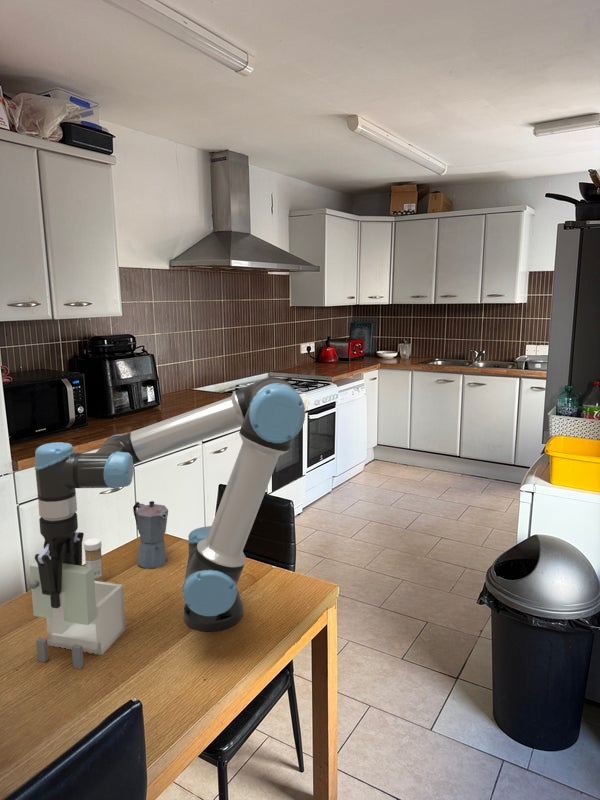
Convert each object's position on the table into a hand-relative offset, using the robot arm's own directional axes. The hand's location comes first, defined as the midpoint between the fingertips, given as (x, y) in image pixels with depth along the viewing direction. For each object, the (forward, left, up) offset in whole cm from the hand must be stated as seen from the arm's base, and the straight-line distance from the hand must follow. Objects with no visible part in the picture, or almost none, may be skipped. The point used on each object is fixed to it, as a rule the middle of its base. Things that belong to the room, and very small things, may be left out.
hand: (65, 614), depth 124 cm
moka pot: (+5, -46, -11) cm, 48 cm away
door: (0, 0, -1) cm, 1 cm away
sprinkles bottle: (+13, -29, -11) cm, 34 cm away
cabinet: (0, -5, -10) cm, 11 cm away
